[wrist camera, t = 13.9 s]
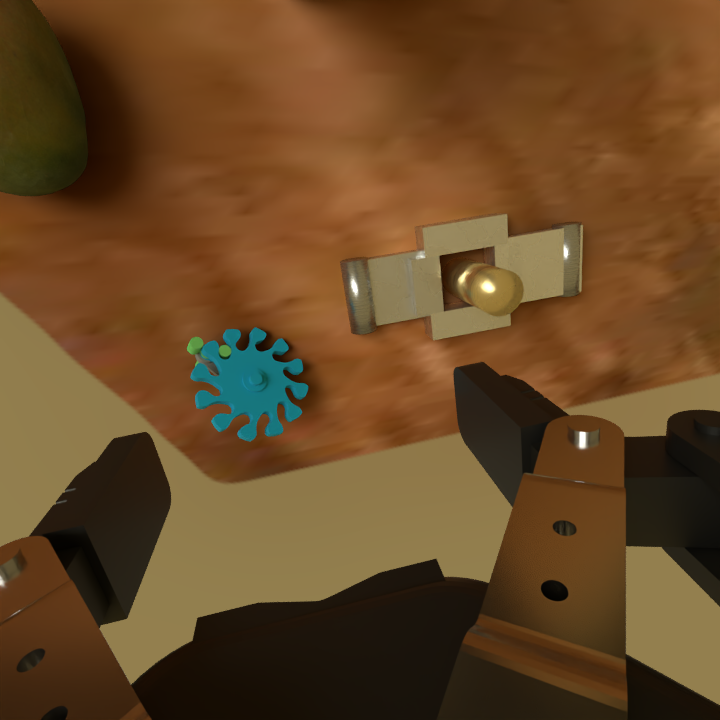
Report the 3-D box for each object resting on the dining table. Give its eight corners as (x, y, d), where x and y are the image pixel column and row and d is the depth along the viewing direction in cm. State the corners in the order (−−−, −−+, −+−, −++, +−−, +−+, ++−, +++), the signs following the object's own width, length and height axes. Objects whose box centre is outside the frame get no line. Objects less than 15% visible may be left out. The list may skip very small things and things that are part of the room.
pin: (439, 260, 41) (477, 274, 33) (475, 254, 42) (523, 266, 33) (442, 297, 42) (480, 320, 34) (477, 291, 43) (524, 312, 34)
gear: (330, 373, 41) (270, 462, 36) (304, 392, 46) (247, 473, 40) (234, 294, 39) (154, 375, 34) (217, 322, 44) (144, 397, 38)
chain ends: (335, 239, 39) (338, 242, 37) (569, 201, 41) (587, 200, 39) (352, 347, 43) (356, 356, 40) (568, 306, 45) (584, 312, 42)
